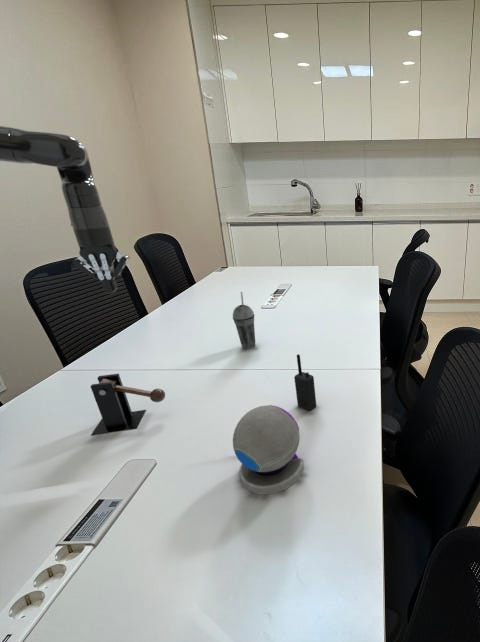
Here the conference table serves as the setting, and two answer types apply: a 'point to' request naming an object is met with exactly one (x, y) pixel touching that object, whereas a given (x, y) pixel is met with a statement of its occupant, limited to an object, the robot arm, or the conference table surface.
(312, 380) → the walkie-talkie
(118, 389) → the lever
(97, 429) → the bracket
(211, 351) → the conference table surface
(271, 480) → the webcam
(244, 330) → the beverage cup
